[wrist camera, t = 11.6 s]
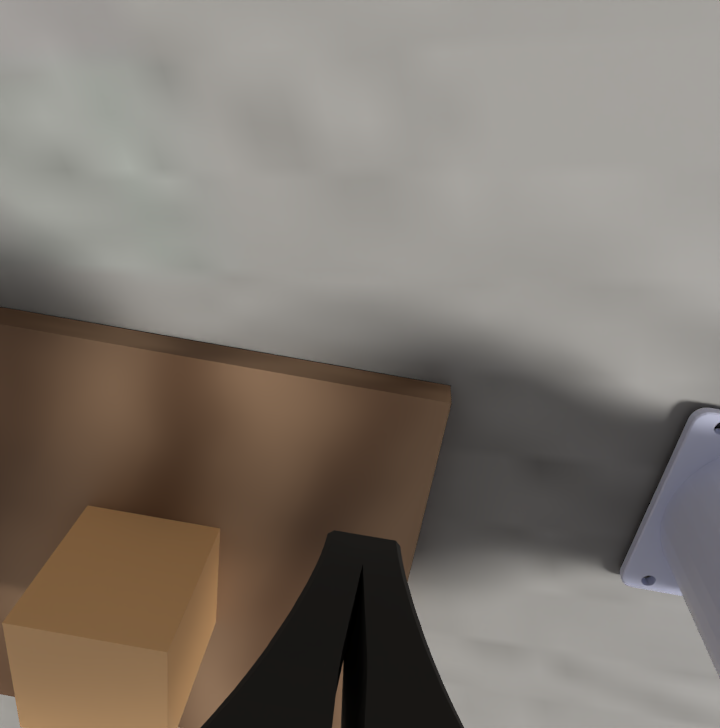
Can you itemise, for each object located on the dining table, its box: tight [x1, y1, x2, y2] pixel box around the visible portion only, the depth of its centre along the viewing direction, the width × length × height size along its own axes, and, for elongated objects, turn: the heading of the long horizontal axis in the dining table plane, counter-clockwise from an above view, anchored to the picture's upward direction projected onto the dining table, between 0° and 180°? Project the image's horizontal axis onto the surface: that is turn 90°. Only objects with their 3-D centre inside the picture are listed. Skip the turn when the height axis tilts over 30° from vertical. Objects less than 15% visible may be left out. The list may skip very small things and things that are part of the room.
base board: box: [0, 307, 451, 728], centre depth 27 cm, size 20×20×1 cm
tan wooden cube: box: [2, 506, 220, 728], centre depth 24 cm, size 5×5×6 cm
